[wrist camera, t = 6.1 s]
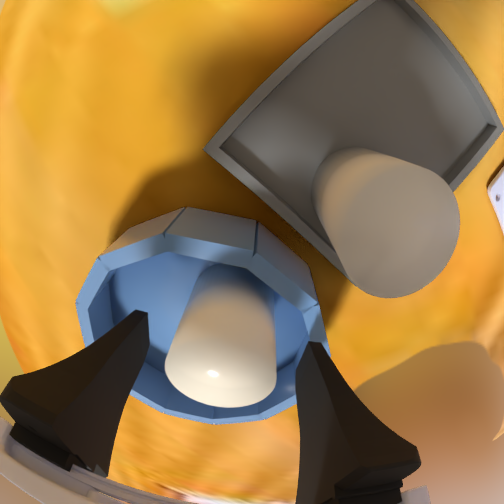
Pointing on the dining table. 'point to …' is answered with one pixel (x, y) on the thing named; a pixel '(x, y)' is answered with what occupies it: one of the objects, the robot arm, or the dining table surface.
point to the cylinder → (385, 220)
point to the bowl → (178, 292)
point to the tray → (358, 110)
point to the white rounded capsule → (225, 340)
